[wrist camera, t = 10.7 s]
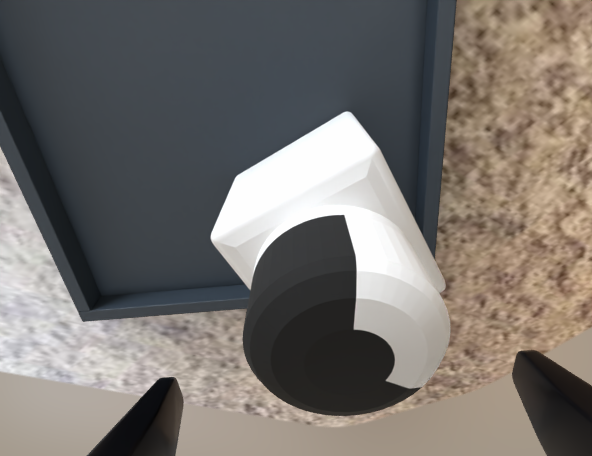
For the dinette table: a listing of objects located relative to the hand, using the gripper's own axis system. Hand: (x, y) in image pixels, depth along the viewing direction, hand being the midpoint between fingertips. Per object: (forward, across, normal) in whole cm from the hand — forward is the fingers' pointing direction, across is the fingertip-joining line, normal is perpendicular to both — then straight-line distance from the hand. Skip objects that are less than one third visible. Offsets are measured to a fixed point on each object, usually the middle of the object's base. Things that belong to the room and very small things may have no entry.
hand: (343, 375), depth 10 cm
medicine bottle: (+13, 0, 0) cm, 13 cm away
